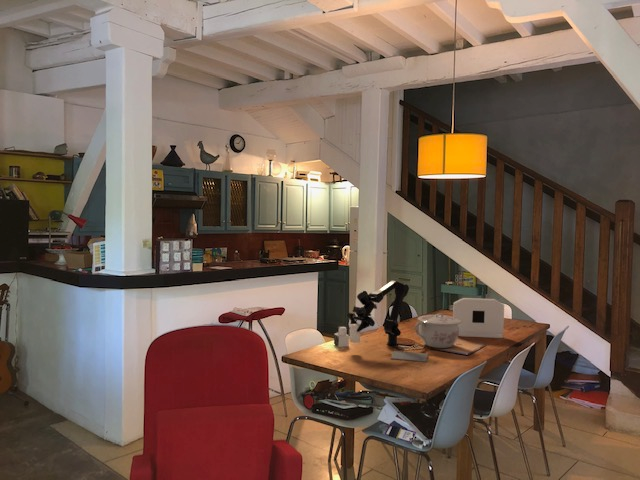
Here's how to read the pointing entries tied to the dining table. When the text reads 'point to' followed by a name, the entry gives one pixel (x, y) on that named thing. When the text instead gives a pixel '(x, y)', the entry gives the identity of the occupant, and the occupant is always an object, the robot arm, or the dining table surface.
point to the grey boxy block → (479, 317)
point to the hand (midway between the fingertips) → (353, 330)
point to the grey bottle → (341, 337)
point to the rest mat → (409, 356)
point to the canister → (354, 333)
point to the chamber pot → (438, 330)
